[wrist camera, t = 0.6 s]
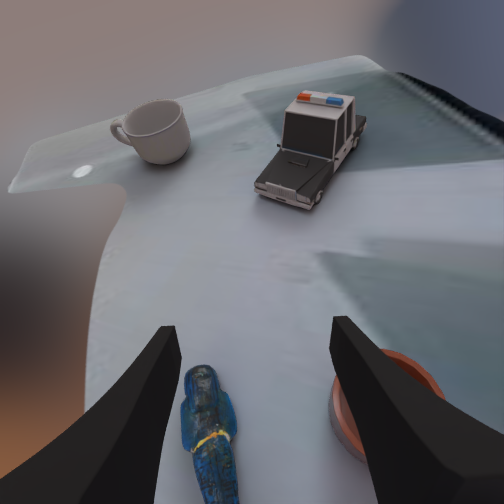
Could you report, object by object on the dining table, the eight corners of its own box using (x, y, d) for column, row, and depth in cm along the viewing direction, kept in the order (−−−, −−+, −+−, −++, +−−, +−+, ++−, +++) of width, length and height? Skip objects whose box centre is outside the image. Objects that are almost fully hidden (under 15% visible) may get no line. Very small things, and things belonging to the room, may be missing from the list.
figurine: (266, 572, 21) (221, 370, 30) (276, 579, 18) (223, 355, 28) (201, 603, 19) (175, 381, 29) (201, 616, 17) (173, 367, 26)
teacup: (204, 138, 56) (190, 97, 49) (182, 174, 50) (164, 133, 44) (144, 138, 60) (125, 99, 53) (118, 171, 54) (92, 132, 48)
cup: (438, 471, 22) (470, 474, 18) (334, 466, 23) (341, 468, 19) (408, 366, 27) (428, 347, 22) (323, 367, 28) (326, 349, 23)
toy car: (253, 196, 44) (241, 137, 36) (312, 125, 53) (313, 65, 45) (313, 216, 39) (314, 154, 31) (366, 135, 48) (378, 70, 40)
